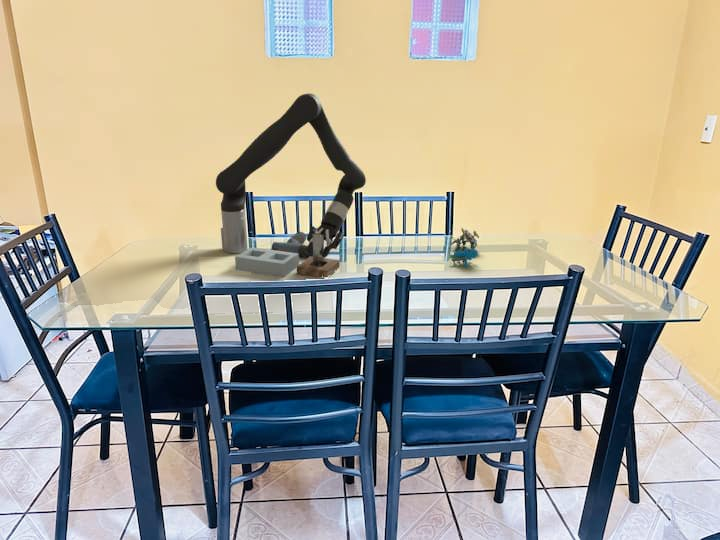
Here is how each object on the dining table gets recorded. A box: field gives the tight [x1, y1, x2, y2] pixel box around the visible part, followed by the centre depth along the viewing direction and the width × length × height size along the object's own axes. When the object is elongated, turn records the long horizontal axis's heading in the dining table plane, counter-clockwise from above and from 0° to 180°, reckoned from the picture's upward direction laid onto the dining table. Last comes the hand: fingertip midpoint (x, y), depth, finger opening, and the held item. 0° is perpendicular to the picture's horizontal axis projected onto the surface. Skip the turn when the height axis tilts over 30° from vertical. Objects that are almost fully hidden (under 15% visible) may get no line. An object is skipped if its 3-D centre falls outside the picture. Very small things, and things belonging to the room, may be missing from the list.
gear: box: [448, 248, 479, 268], centre depth 189 cm, size 11×6×10 cm
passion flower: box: [450, 227, 480, 251], centre depth 206 cm, size 11×11×12 cm
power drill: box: [271, 231, 313, 258], centre depth 204 cm, size 5×19×20 cm
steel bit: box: [313, 233, 325, 267], centre depth 179 cm, size 4×4×14 cm
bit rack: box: [234, 246, 300, 278], centre depth 183 cm, size 20×12×5 cm, turn 71°
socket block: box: [296, 256, 341, 278], centre depth 181 cm, size 12×12×3 cm
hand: (315, 254), depth 178 cm, fingers open, 6 cm apart
